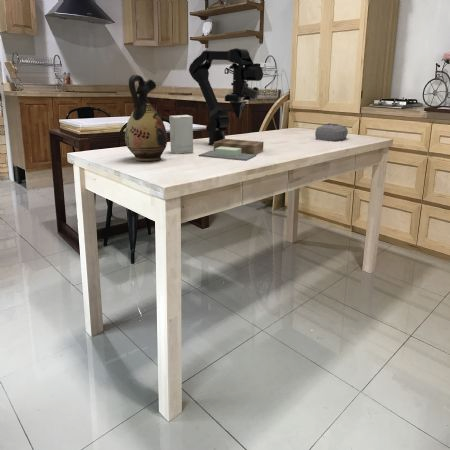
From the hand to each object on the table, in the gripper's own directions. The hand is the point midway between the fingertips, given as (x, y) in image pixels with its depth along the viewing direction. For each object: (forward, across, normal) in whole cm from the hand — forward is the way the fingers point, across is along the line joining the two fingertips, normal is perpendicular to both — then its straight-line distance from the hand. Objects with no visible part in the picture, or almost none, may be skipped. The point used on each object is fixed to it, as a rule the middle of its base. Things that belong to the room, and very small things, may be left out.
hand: (238, 118), depth 185 cm
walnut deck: (+13, -9, -4) cm, 16 cm away
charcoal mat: (+13, -21, -4) cm, 25 cm away
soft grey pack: (+14, +55, -33) cm, 66 cm away
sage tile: (+10, -21, -4) cm, 24 cm away
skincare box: (+13, -23, +16) cm, 31 cm away
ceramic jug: (+13, -44, +20) cm, 50 cm away
